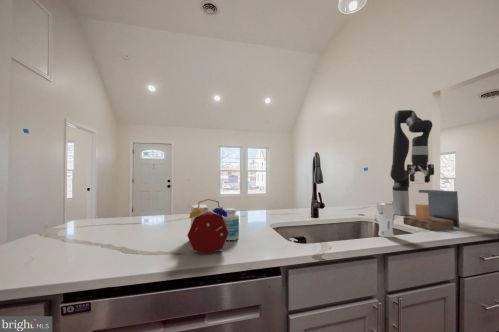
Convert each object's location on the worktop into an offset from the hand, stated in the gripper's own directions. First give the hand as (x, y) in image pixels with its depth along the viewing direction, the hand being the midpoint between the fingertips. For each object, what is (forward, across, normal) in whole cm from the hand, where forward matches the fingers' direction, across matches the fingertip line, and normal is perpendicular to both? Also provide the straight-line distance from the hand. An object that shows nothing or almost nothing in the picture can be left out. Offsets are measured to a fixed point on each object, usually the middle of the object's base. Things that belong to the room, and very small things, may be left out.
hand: (419, 182), depth 116 cm
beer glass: (+25, +17, -38) cm, 48 cm away
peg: (+24, +5, -3) cm, 25 cm away
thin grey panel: (+24, +5, +8) cm, 26 cm away
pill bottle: (+27, +9, -110) cm, 114 cm away
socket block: (+24, +5, 0) cm, 25 cm away
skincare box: (+27, +10, -124) cm, 127 cm away
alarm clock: (+26, +25, -119) cm, 125 cm away
